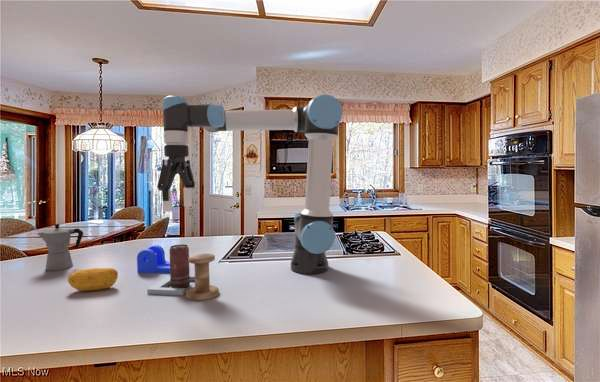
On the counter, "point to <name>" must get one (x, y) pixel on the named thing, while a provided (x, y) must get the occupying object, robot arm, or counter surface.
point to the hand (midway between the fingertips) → (178, 208)
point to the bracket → (152, 261)
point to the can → (179, 266)
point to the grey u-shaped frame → (161, 288)
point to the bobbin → (202, 278)
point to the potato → (93, 279)
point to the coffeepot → (59, 247)
